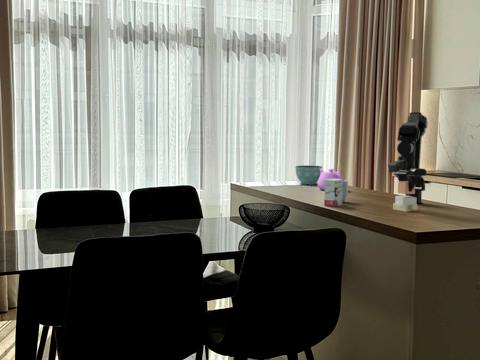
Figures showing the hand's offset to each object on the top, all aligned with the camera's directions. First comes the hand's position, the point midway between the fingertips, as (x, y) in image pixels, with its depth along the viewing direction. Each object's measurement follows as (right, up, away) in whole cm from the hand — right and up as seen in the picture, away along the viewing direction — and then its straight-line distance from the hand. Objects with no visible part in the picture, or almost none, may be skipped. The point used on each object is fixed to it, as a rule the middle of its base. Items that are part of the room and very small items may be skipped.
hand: (406, 190), depth 239 cm
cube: (0, -1, 0) cm, 1 cm away
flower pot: (-30, +2, +99) cm, 103 cm away
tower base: (0, -9, +1) cm, 9 cm away
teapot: (-22, -1, +70) cm, 74 cm away
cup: (-25, -6, +23) cm, 34 cm away
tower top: (0, -6, 0) cm, 6 cm away
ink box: (-29, -7, +11) cm, 32 cm away
